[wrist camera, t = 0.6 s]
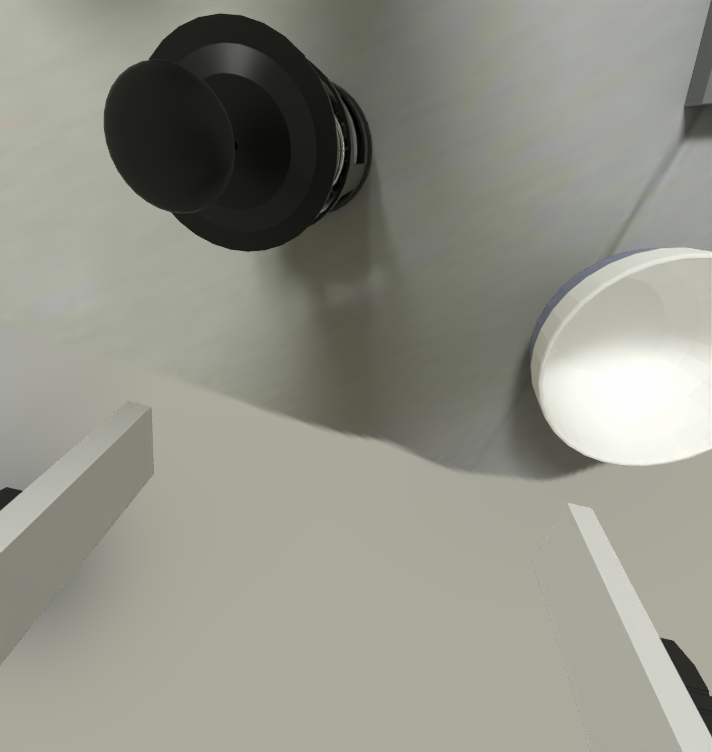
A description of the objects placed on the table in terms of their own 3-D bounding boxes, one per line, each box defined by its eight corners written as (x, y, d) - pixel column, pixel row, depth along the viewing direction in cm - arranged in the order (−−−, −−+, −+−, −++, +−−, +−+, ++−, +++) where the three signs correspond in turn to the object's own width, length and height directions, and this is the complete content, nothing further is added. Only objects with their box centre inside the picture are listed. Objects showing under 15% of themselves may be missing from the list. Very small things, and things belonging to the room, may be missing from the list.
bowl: (740, 334, 36) (842, 388, 28) (568, 430, 42) (608, 498, 34) (651, 183, 32) (740, 192, 23) (473, 314, 38) (492, 359, 29)
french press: (400, 115, 31) (387, 40, 11) (353, 235, 36) (282, 340, 16) (251, 44, 30) (-61, -181, 10) (221, 177, 35) (-39, 206, 14)
